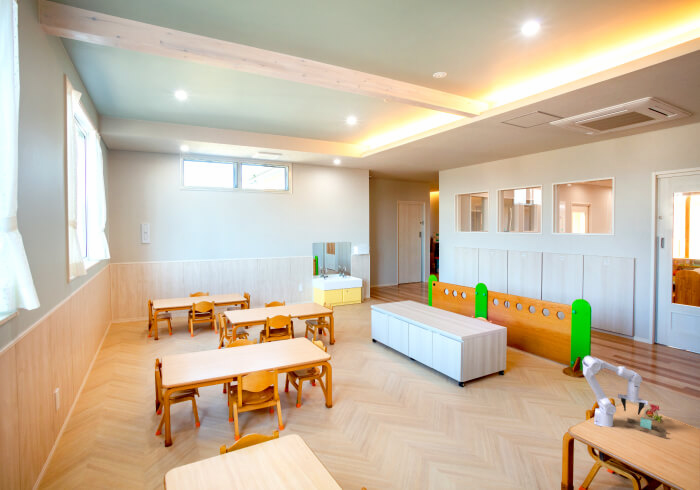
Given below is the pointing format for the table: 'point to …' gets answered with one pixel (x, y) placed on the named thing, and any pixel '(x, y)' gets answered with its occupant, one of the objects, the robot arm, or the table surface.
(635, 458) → the table surface
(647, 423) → the block
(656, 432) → the chute
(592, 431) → the table surface
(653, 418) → the bird rattle
